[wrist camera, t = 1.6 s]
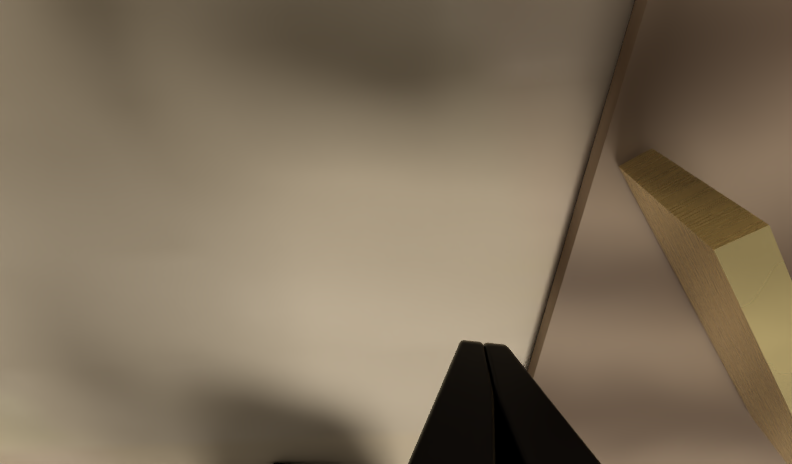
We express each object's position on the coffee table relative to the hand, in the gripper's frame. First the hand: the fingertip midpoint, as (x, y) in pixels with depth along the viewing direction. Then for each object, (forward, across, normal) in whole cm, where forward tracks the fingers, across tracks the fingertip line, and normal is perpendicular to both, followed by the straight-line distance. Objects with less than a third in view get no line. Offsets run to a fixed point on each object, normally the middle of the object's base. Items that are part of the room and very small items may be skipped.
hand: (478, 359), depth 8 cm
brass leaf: (+7, -9, +3) cm, 12 cm away
